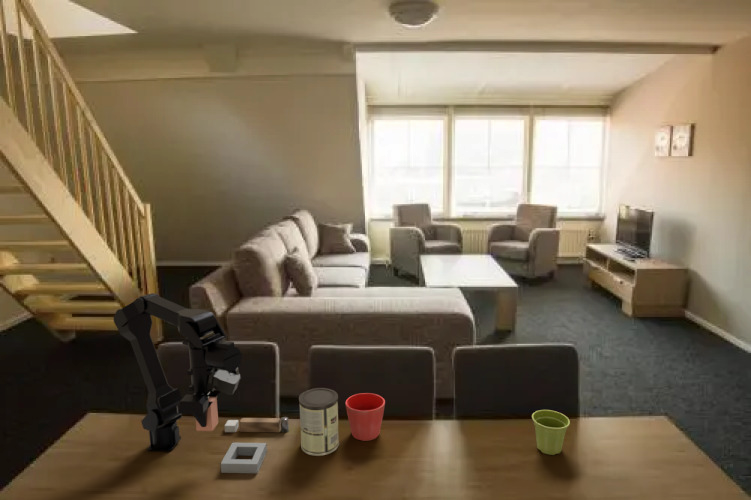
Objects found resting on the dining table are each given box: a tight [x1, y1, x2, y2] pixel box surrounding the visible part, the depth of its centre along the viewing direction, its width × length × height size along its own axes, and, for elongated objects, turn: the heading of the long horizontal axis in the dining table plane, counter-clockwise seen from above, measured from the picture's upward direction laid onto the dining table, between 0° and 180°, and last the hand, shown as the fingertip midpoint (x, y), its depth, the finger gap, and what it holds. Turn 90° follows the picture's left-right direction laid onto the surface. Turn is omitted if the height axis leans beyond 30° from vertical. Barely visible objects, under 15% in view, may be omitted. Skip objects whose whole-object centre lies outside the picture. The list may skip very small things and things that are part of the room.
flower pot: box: [344, 392, 386, 442], centre depth 136 cm, size 11×11×10 cm
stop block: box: [224, 419, 240, 433], centre depth 139 cm, size 3×3×2 cm
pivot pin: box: [280, 416, 290, 433], centre depth 138 cm, size 2×2×4 cm
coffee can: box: [298, 387, 340, 457], centre depth 130 cm, size 10×10×14 cm
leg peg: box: [195, 396, 219, 432], centre depth 121 cm, size 4×4×7 cm
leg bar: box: [239, 417, 281, 433], centre depth 139 cm, size 11×2×3 cm, turn 89°
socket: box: [220, 442, 268, 474], centre depth 124 cm, size 9×9×2 cm
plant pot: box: [531, 409, 571, 456], centre depth 129 cm, size 9×9×9 cm
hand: (207, 422), depth 122 cm, fingers closed on leg peg, 4 cm apart
